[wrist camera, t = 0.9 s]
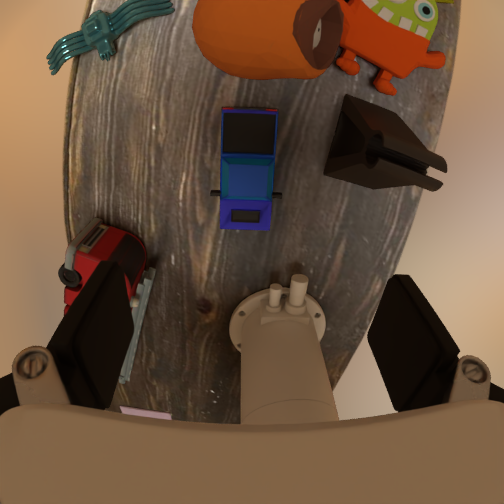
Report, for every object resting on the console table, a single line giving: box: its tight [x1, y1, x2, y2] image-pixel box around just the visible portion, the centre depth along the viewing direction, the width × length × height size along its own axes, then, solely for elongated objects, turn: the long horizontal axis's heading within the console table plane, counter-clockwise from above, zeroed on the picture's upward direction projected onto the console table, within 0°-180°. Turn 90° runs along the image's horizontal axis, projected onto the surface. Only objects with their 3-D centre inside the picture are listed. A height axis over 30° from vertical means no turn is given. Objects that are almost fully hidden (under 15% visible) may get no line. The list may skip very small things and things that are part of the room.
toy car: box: [210, 107, 282, 230], centre depth 28 cm, size 7×12×5 cm, turn 177°
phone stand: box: [324, 94, 447, 191], centre depth 24 cm, size 9×6×12 cm, turn 167°
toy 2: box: [336, 0, 454, 96], centre depth 21 cm, size 15×4×15 cm
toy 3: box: [192, 0, 344, 80], centre depth 18 cm, size 10×12×15 cm
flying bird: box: [47, 0, 175, 75], centre depth 22 cm, size 15×7×4 cm, turn 108°
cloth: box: [120, 405, 172, 420], centre depth 53 cm, size 16×10×1 cm, turn 176°
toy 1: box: [58, 217, 156, 384], centre depth 35 cm, size 8×22×10 cm
